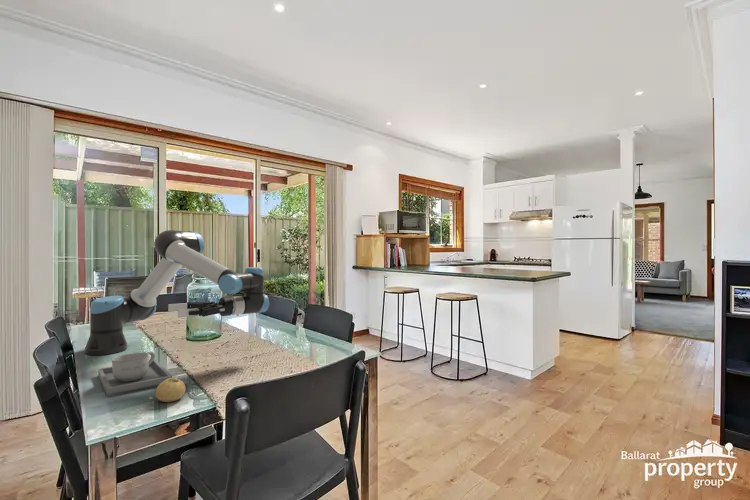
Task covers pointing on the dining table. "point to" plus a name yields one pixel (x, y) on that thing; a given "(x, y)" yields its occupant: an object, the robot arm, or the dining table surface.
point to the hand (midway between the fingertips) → (173, 310)
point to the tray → (149, 380)
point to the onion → (170, 390)
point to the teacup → (131, 366)
